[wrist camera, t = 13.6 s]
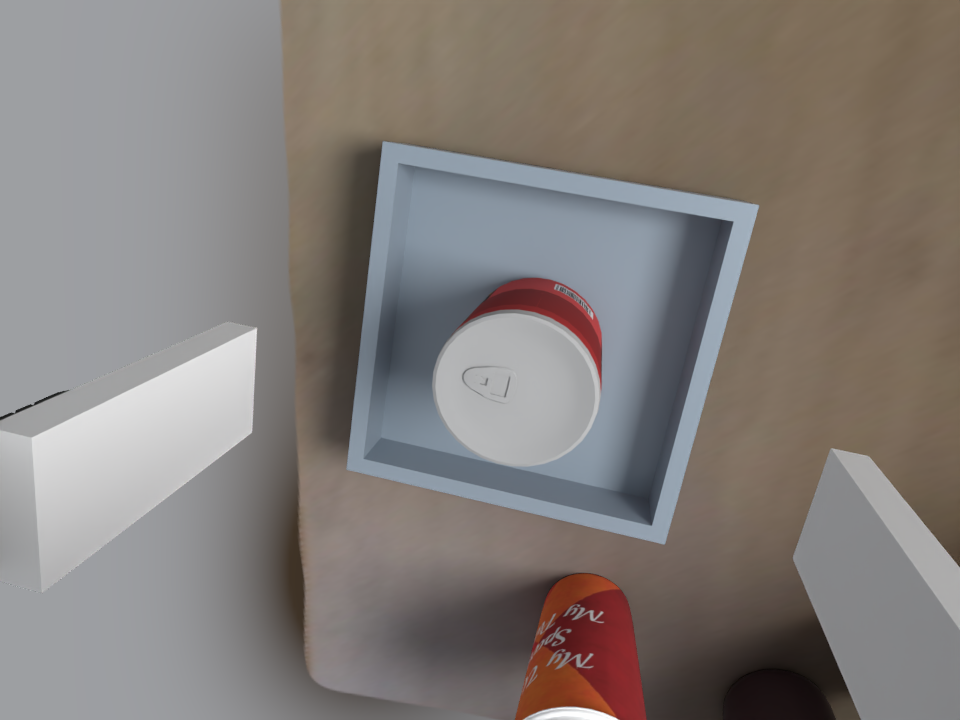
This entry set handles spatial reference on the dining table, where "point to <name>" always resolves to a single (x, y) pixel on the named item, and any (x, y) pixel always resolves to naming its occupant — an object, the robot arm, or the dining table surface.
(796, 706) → the wine bottle
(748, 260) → the dining table surface
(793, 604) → the dining table surface
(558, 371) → the canned food
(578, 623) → the coffee cup
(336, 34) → the dining table surface
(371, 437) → the bin
